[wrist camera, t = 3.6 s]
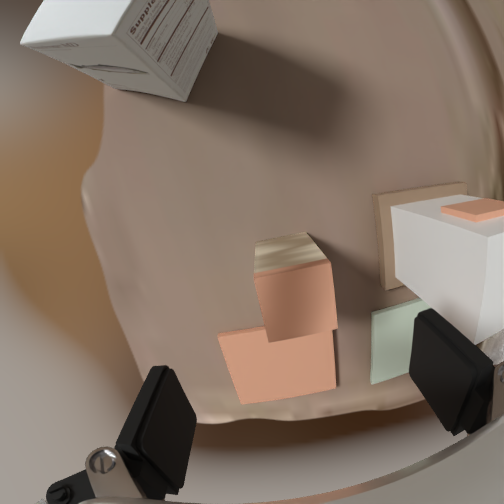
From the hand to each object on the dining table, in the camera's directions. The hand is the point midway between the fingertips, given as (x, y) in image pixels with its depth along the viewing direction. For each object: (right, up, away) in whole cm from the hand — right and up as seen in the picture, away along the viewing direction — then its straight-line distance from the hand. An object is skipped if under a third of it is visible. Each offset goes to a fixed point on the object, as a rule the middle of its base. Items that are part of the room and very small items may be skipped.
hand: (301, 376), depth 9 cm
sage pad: (+15, -4, +15) cm, 21 cm away
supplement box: (-9, +21, +9) cm, 24 cm away
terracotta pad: (+1, -6, +15) cm, 17 cm away
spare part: (+1, +4, +13) cm, 13 cm away
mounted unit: (+14, +6, +12) cm, 19 cm away
